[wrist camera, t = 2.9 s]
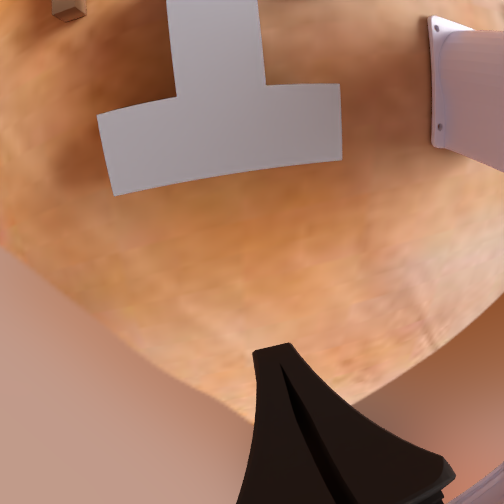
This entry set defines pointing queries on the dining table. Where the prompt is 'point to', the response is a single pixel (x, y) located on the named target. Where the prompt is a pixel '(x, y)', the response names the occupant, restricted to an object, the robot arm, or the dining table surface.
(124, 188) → the tee block
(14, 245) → the dining table surface
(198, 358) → the dining table surface
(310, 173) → the dining table surface
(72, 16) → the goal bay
